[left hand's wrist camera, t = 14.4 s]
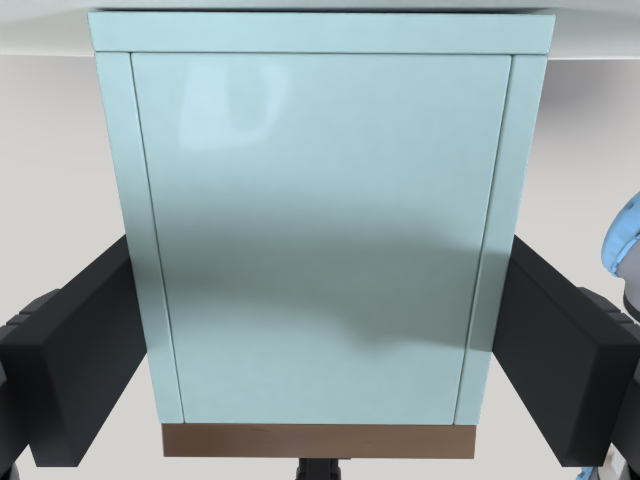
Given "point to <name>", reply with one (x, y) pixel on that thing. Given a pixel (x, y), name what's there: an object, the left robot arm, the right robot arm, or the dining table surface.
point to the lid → (318, 440)
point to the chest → (320, 205)
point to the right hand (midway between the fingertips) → (319, 332)
